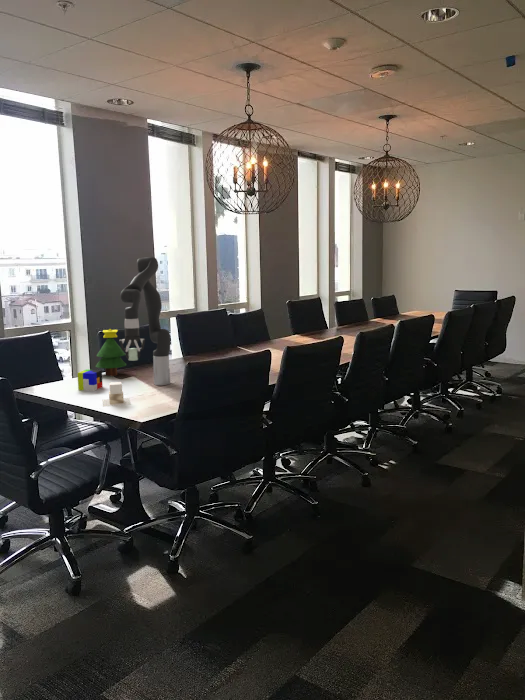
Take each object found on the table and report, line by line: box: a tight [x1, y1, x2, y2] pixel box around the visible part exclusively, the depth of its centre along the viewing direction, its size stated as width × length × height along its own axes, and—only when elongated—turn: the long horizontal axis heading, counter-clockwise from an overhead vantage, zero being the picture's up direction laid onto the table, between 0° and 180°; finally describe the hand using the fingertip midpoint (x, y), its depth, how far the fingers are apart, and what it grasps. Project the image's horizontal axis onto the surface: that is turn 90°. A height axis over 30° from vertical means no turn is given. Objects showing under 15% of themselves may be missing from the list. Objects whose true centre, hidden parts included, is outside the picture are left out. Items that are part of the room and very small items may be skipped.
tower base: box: [108, 390, 125, 404], centre depth 310 cm, size 7×7×5 cm
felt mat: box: [102, 397, 132, 407], centre depth 310 cm, size 14×14×1 cm
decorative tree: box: [95, 328, 127, 377], centre depth 377 cm, size 19×19×30 cm
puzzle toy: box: [77, 369, 104, 392], centre depth 342 cm, size 10×10×10 cm
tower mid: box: [109, 381, 123, 394], centre depth 309 cm, size 6×6×5 cm
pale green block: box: [127, 347, 139, 362], centre depth 319 cm, size 5×5×6 cm
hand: (132, 358), depth 319 cm, fingers closed on pale green block, 5 cm apart
